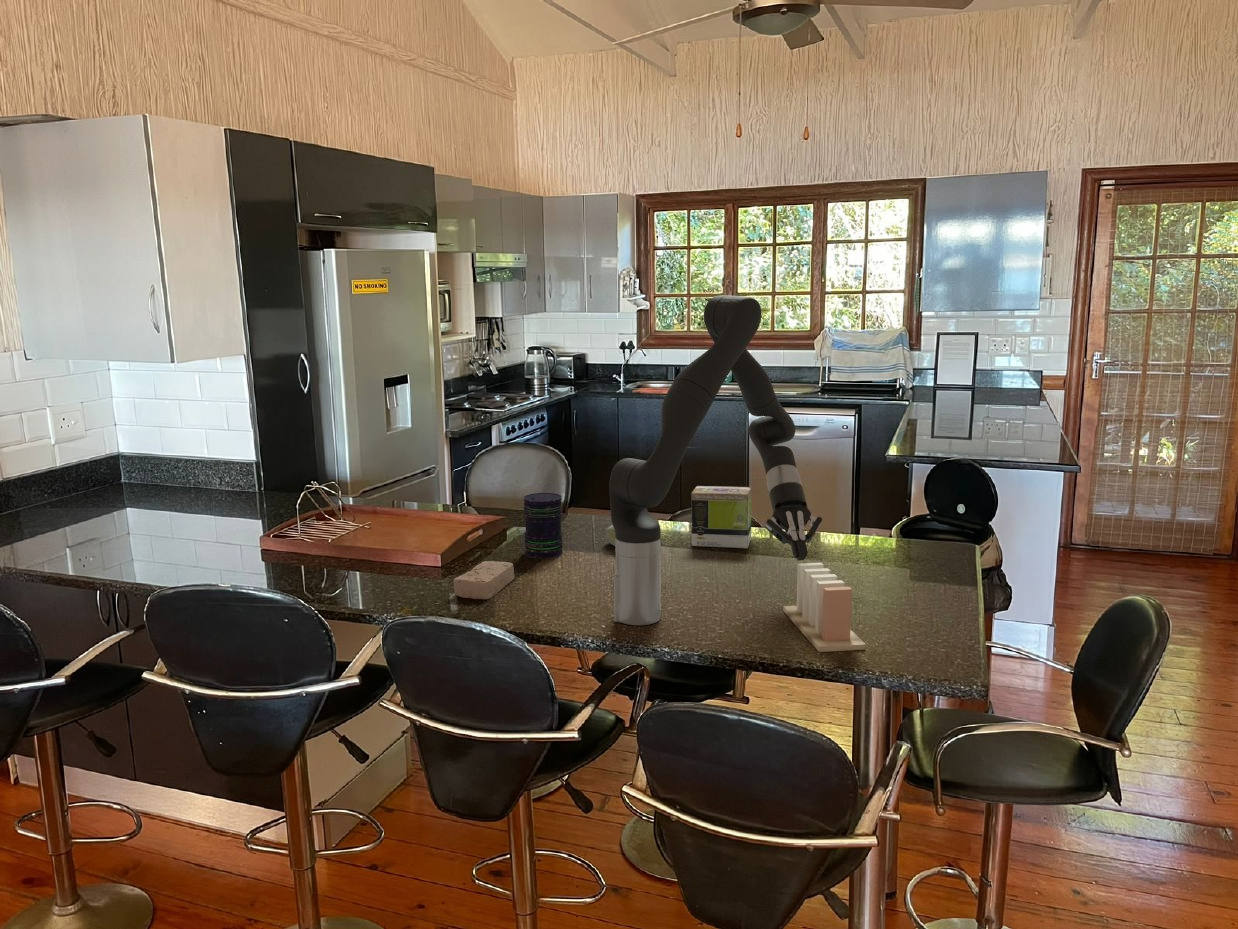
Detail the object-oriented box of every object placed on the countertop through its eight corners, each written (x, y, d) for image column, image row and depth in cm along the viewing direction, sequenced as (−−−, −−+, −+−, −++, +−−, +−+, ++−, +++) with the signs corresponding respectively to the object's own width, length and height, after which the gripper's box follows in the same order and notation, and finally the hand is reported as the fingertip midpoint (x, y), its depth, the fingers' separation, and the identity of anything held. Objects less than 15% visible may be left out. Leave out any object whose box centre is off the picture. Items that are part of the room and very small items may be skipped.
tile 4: (815, 630, 182) (816, 581, 181) (839, 629, 183) (841, 580, 181) (817, 633, 181) (819, 584, 179) (842, 632, 181) (844, 582, 180)
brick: (483, 577, 223) (482, 558, 222) (516, 579, 220) (515, 560, 220) (453, 599, 207) (452, 579, 206) (488, 602, 205) (487, 582, 204)
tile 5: (821, 638, 179) (823, 587, 177) (847, 636, 179) (849, 586, 177) (824, 641, 177) (826, 590, 175) (850, 639, 178) (852, 589, 176)
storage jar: (551, 546, 248) (550, 491, 245) (570, 554, 240) (569, 497, 237) (518, 552, 242) (516, 496, 240) (536, 561, 234) (534, 503, 231)
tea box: (751, 539, 252) (752, 486, 250) (747, 549, 243) (748, 494, 240) (696, 537, 256) (696, 484, 253) (690, 546, 246) (690, 492, 243)
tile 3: (808, 623, 186) (810, 575, 185) (832, 622, 187) (834, 574, 185) (811, 626, 185) (812, 577, 183) (835, 624, 185) (837, 576, 184)
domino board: (783, 610, 197) (783, 606, 197) (824, 608, 198) (824, 604, 198) (819, 652, 174) (819, 647, 174) (865, 649, 175) (865, 644, 175)
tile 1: (796, 609, 194) (797, 563, 192) (819, 608, 195) (821, 562, 193) (798, 612, 193) (800, 565, 191) (822, 611, 193) (823, 564, 191)
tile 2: (802, 616, 190) (803, 569, 188) (826, 615, 191) (827, 568, 189) (804, 619, 189) (806, 571, 187) (828, 617, 189) (830, 570, 187)
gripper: (760, 482, 204) (775, 551, 194) (818, 479, 205) (836, 548, 196) (753, 500, 210) (767, 568, 200) (810, 497, 211) (827, 565, 202)
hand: (801, 558), depth 198 cm, fingers closed
